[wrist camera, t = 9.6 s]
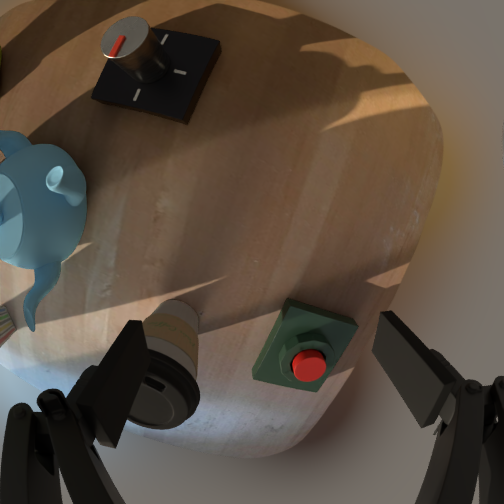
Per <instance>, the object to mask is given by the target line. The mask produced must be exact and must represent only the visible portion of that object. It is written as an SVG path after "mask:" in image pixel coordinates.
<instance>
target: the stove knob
mask: <svg viewBox="0 0 504 504" xmlns="http://www.w3.org/2000/svg"><path fill="white" fill-rule="evenodd" d="M101 50H102V52H103V54H104V55H105V56H106V57H108V58H109V59H110V60H112V61H113V62H114V63H115V64H116V65H118V66H119V67H120V68H121V69H123V70H124V71H125V72H126V73H128V74H129V75H130V76H131V77H132V78H134V79H135V80H136V81H137V82H139V83H143V84H148V83H153V82H155V81H157V80H159V79H161V78H162V77H163V76H164V75H165V74H166V72H167V71H168V69H169V66H170V58H169V56H168V54H167V52H166V51H165V49H164V48H163V46H162V45H161V43H160V42H159V40H158V39H157V37H156V35H155V34H154V32H153V31H152V29H151V28H150V26H149V25H148V23H147V22H146V21H145V20H144V19H143V18H140V17H127V18H124V19H121V20H119V21H117V22H116V23H114V24H113V25H112V26H111V27H110V28H109V29H108V30H107V31H106V32H105V34H104V36H103V38H102V41H101Z"/></svg>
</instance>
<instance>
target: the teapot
mask: <svg viewBox="0 0 504 504" xmlns="http://www.w3.org/2000/svg"><path fill="white" fill-rule="evenodd" d="M0 150H1V151H2V152H3V154H4V155H5V157H6V159H5V160H4V161H3V162H2V163H1V164H0V259H1V260H3V261H5V262H7V263H9V264H12V265H14V266H17V267H21V268H25V269H34V272H35V283H34V286H33V288H32V289H31V290H30V291H29V293H28V294H27V295H26V297H25V300H24V304H23V311H24V316H25V319H26V322H27V324H28V327H29V328H30V330H31V331H32V332H34V331H35V312H36V308H37V306H38V304H39V302H40V301H41V300H42V299H43V298H44V297H45V296H46V295H47V294H48V293H49V292H50V291H51V290H52V289H53V288H54V286H55V285H56V283H57V281H58V279H59V276H60V271H61V262H62V261H64V260H65V259H67V258H68V257H69V256H70V255H71V254H72V252H73V251H74V250H75V248H76V246H77V245H78V243H79V241H80V239H81V236H82V234H83V231H84V227H85V222H86V214H87V199H86V181H85V177H84V175H83V173H82V171H81V170H80V169H79V168H78V167H77V165H76V163H75V162H74V160H73V159H72V158H71V156H70V155H69V154H68V153H67V152H65V151H64V150H63V149H61V148H60V147H58V146H55V145H52V144H36V145H32V144H31V143H30V141H29V140H28V139H27V138H26V137H25V136H24V135H23V134H21V133H19V132H16V131H3V130H0Z"/></svg>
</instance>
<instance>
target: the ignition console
mask: <svg viewBox="0 0 504 504" xmlns="http://www.w3.org/2000/svg"><path fill="white" fill-rule="evenodd" d="M358 327H359V326H358V325H357V323H356V322H355V321H354V319H353V318H349V317H346V316H343V315H339V314H336V313H333V312H330V311H327V310H323V309H320V308H317V307H314V306H311V305H308V304H305V303H301V302H298V301H295V300H292V299H289V298H287V299H286V302H285V304H284V306H283V308H282V310H281V312H280V314H279V316H278V318H277V320H276V323H275V325H274V327H273V329H272V331H271V333H270V335H269V337H268V339H267V341H266V343H265V345H264V347H263V349H262V351H261V353H260V355H259V357H258V359H257V361H256V363H255V365H254V366H253V368H252V376H253V379H254V380H259V381H263V382H267V383H271V384H276V385H280V386H285V387H290V388H295V389H300V390H306V391H311V392H317V391H318V390H319V389H320V387H321V386H322V384H323V383H324V381H325V380H326V378H327V377H328V375H329V374H330V372H331V371H332V369H333V368H334V366H335V365H336V363H337V362H338V360H339V358H340V357H341V355H342V354H343V352H344V350H345V349H346V347H347V346H348V344H349V342H350V341H351V339H352V337H353V336H354V334H355V332H356V330H357V329H358ZM307 349H314V350H317V351H319V352H320V353H321V354H322V355H323V358H324V360H325V363H326V370H325V372H324V374H323V375H322V376H321V377H320V378H318V379H316V380H314V381H309V382H305V381H301V380H299V379H297V378H296V376H295V374H294V371H293V367H292V361H293V359H294V357H295V356H296V355H297V354H298V353H300V352H301V351H304V350H307Z"/></svg>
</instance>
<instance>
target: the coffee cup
mask: <svg viewBox="0 0 504 504" xmlns="http://www.w3.org/2000/svg"><path fill="white" fill-rule="evenodd" d="M142 324H143V329H144V334H145V338H146V342H147V347H148V351H149V355H150V359H151V362H150V364H149V367H148V369H147V371H146V374H145V376H144V378H143V381H142V383H141V386H140V388H139V390H138V393H137V395H136V398H135V400H134V403H133V405H132V408H131V410H130V413H129V415H128V418H127V420H129V421H131V422H133V423H135V424H137V425H140V426H143V427H146V428H151V429H160V430H163V429H171V428H174V427H177V426H179V425H181V424H182V423H183V422H184V421H185V420H187V419H188V418H190V417H191V416H192V415H193V414H194V412H195V411H196V408H197V406H198V404H199V401H200V391H199V387H198V384H197V382H196V378H197V367H198V346H199V343H198V316H197V314H196V312H195V311H194V310H193V308H191V307H190V306H189V305H187V304H186V303H184V302H181V301H178V300H167V301H164V302H163V303H161V304H160V305H159V306H158V307H157V309H156V310H155V311H154V312H153V313H152V314H151V315H150V316H149V317H147V318H146V319H145V320H144V321H143V322H142Z"/></svg>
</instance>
